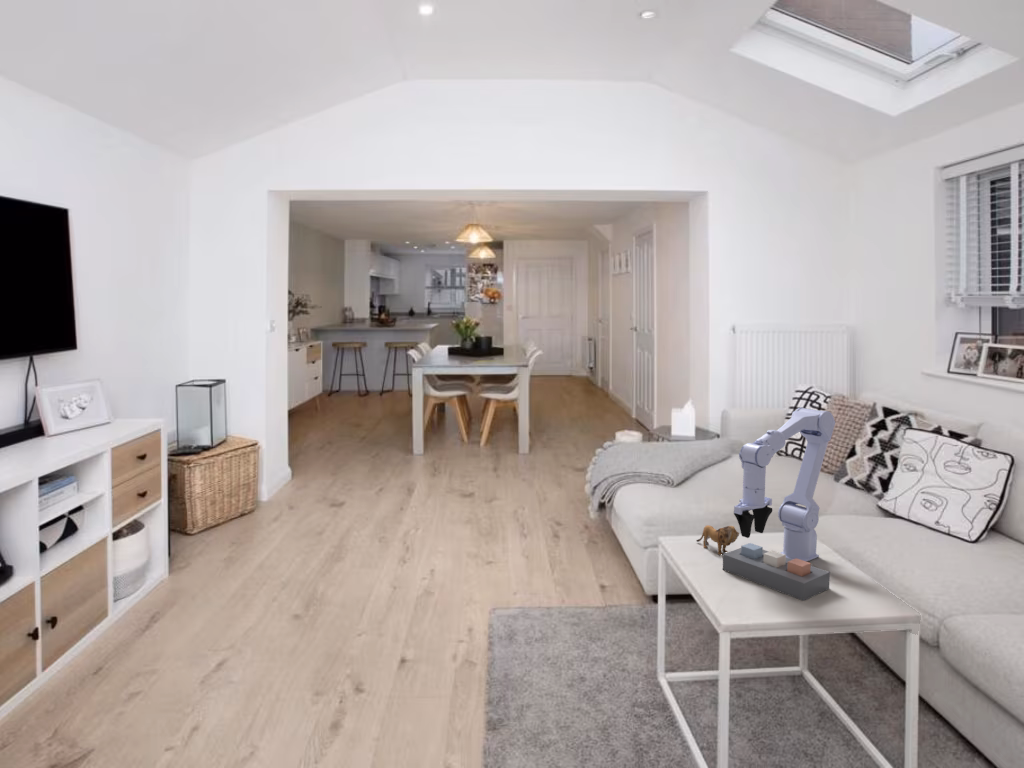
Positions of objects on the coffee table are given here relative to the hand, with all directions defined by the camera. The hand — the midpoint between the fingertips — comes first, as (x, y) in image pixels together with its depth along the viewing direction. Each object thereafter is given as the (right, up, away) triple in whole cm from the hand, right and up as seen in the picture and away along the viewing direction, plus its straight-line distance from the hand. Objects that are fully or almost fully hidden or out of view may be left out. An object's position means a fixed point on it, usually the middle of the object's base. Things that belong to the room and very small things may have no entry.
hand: (752, 534), depth 175 cm
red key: (+8, -8, -11) cm, 15 cm away
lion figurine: (-4, -9, +17) cm, 19 cm away
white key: (+4, -7, -5) cm, 10 cm away
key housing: (+4, -11, -5) cm, 13 cm away
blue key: (0, -6, +1) cm, 6 cm away
